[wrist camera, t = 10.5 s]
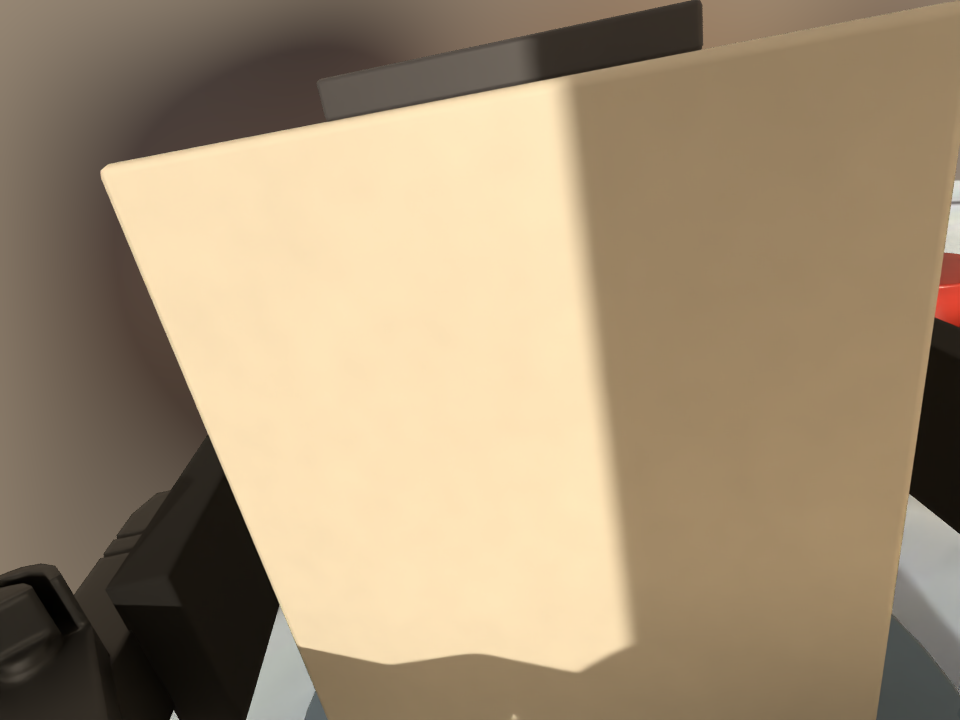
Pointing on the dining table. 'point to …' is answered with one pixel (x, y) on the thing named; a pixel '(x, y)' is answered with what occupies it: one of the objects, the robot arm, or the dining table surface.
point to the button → (949, 290)
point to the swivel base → (904, 688)
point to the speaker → (576, 362)
